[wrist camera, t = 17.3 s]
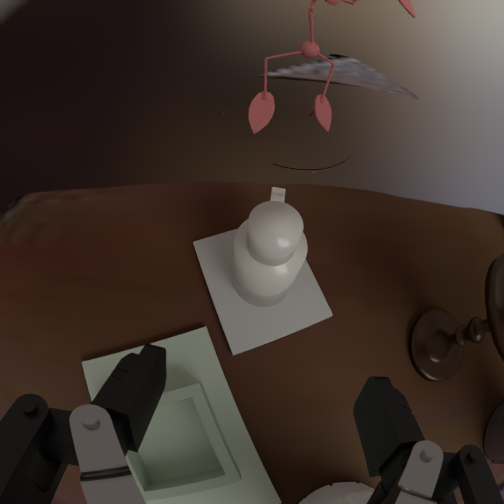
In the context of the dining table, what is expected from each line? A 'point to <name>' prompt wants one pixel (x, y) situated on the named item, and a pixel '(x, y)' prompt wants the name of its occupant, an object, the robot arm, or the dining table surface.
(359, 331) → the dining table surface
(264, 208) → the cream jug
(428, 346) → the candlestick
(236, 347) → the grey mat
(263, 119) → the figurine
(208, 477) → the tray
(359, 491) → the decorative vase
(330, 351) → the dining table surface
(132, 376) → the robot arm
